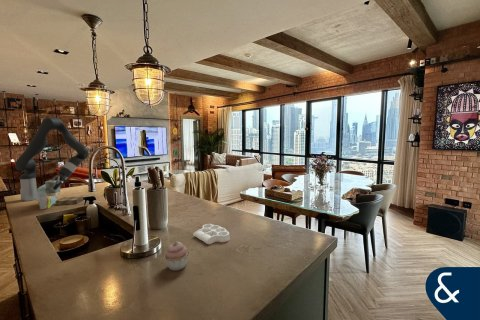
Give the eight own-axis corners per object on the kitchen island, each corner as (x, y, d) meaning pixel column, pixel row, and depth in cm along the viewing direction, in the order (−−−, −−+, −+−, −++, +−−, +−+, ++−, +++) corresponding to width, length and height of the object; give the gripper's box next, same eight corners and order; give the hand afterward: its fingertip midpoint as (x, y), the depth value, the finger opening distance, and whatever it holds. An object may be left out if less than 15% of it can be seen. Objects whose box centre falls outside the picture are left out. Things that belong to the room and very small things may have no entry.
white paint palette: (190, 235, 116) (214, 227, 126) (211, 248, 102) (236, 238, 112) (189, 229, 115) (214, 221, 125) (210, 241, 102) (236, 231, 112)
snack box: (48, 202, 180) (46, 182, 178) (57, 201, 182) (55, 182, 181) (38, 210, 161) (35, 188, 159) (48, 208, 163) (46, 187, 162)
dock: (56, 205, 172) (55, 200, 171) (64, 201, 182) (63, 197, 181) (77, 203, 174) (76, 199, 173) (83, 200, 184) (83, 196, 183)
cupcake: (159, 266, 88) (158, 241, 87) (181, 257, 95) (180, 233, 94) (172, 277, 82) (170, 249, 81) (194, 266, 88) (193, 240, 87)
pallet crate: (46, 196, 158) (44, 181, 157) (51, 194, 164) (50, 180, 163) (55, 195, 159) (54, 181, 158) (61, 193, 165) (59, 179, 164)
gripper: (57, 165, 169) (40, 184, 160) (69, 167, 163) (51, 186, 154) (66, 172, 175) (50, 190, 166) (77, 173, 168) (61, 192, 160)
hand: (50, 188), depth 160 cm, fingers closed on pallet crate, 8 cm apart
